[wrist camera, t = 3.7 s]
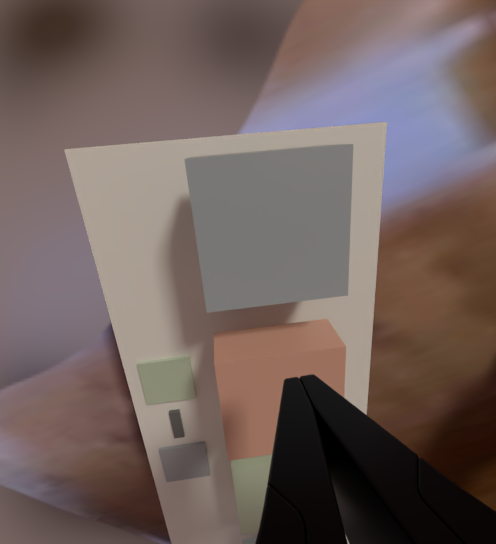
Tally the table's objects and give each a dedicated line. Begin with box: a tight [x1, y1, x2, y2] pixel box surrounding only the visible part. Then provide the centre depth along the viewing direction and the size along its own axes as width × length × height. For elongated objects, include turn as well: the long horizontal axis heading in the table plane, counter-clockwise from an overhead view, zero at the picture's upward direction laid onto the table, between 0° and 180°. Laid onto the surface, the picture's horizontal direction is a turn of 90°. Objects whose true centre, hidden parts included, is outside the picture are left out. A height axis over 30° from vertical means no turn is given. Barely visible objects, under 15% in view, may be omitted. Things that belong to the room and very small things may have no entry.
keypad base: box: [64, 122, 387, 544], centre depth 21 cm, size 14×31×3 cm, turn 5°
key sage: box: [231, 454, 272, 535], centre depth 20 cm, size 6×6×2 cm
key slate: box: [184, 144, 353, 313], centre depth 13 cm, size 6×6×2 cm
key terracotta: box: [214, 319, 346, 461], centre depth 16 cm, size 6×6×2 cm
